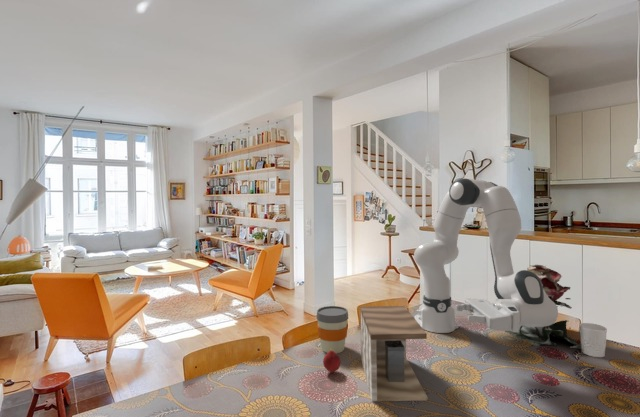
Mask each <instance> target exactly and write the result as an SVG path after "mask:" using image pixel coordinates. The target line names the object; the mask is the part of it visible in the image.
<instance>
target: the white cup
mask: <svg viewBox="0 0 640 417" xmlns="http://www.w3.org/2000/svg"><path fill="white" fill-rule="evenodd" d="M607 329H608V328H607V327H605V326H603V325H601V324H597V323H593V322H592V323H591V322H582V323H579V337H580V345H581V348H582V350H581V352H582V353H583V354H584V355H587V356H589V357H593V358H604V357H605V356H606V355H605V354H606V348H607V347H606V346H607V332H608V330H607Z"/></svg>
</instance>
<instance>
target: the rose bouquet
mask: <svg viewBox="0 0 640 417" xmlns="http://www.w3.org/2000/svg"><path fill="white" fill-rule="evenodd" d="M526 270H528V271H531V272H533V273H535V274H536V275H537V276H538V277H539V278H540V280H541V282H542V285H543V289H544V291H545V293H546V294H547V296H548V297H549V298H550V300H552V301H553V302H554V303H555V304H556V306H557V308H558V307H559V306H560V307H565V308H568V309H569V310H570V309H572V308H573V307H572V306H571V305H569V304H567V303H566V302H562V301H558V300H560V299H561V298H562V296H563V295H564V294H565V293H566V292H568V291H569V290H570V291H571V287H570V286H566V285H565V286H562V285H561V284H559V283H558V282H560V281H561V279H562V277H563V275H562V274H561V273H559V272H558V271H555V270H553V269H552V268H548V267H547V265H544V264H542V265H541V264H533V265H529V266H528V267H527V269H526ZM565 300H571V298H570V297H566V298H565ZM567 322H568V320H565V319H564V320H563V319H562V320H559V321H555V323H553V324H552V325H549V326H545V327H526V326H519V332H511V331H505V332H506V333H508V334H510V335H511V336H512V335H513V336H515V338H517V340H518V341H519V342H520V341H523V340H524V341H527V342H528V343H529V344H530V345H532V346H535V347H541V345H549V346H555V347H557V346H558V343H555V342H553V341H551V340H550V339H551V337H554V338H557V339H560V340H565V341H566V342H568V343H571V344H573V346H570V348H572V349H577V350H581V351H582V348H581V344H580V345H579V342H578V340H575V339H574V338H571V337H569V336H568V330H567ZM537 333H538V335H537ZM550 335H551V336H550ZM572 336H574V335H572Z"/></svg>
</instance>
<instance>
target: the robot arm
mask: <svg viewBox="0 0 640 417" xmlns="http://www.w3.org/2000/svg"><path fill="white" fill-rule="evenodd" d="M470 208H482V210H483V213H484V218H485V221H486V226H487V230H488V235H489V248H490V255H491V259H492V260H491V261H492V265H493V270H494V278H495V279H494V286H493V291H494V294H495V296H496V298H497V299H495V300H494V301H493V302H491V301H489V300H487V299H484V298H483V299H482V298H472V297H471V298H466V299H464V302H463V303H461V304H455V309H454V307H452V301H453V300H452V297H451V279H450V278H449V277H448V276H447V274H446V271H445V265H448V264H451V263H452V262H454V261H455V260H456V259H457V258H458V256H459V252H460V251H459V248H458V239H459V235H460V234H459V233H460V232H461V229H462V226H463V222H464V220H465V218H466V215H467V212H468V210H469V209H470ZM432 228H433V230H434V238H433V241H431V242H425V243H422V244H420V245H419V246H418V247H416V248H415V249H414V253H413V258H414V261H415V262H416V264H417V265H418V266H419V267H420V269H421V272H422V276H423V286H424V288H423V289H424V291H423V292H424V294H423V297H422V304H421V305H420V306H419V307H418V309H416V310H415V313H416V314H415V315H413V317H414V318H415V320H416V321H417V322H418V324H419V325H420V326H421V327H422V329H423V330H424V331H426V332H427V331H428V332H431V333H436V334H437V333H438V334H447V333H451V332H452V333H453V332H454V331H455V330H456V329H459V327H460V326H459V324H458V323H456V312H455V310H456V311H457V312H463V311H467V312H469V313H468V314H467V315H466V320H467V321H468V322H475V323H477V324H478V323H479V324H484V325H485V326H486V327H487V328H488V329H490V330H492V331H501V332H506V331H511V332H519V326H526V327H545V326H549V325H552V324H554V323H556V322H557V320H558V318H559V317H558V316H559V309H558V307H557V306H558V305H556V304H555V303H554V302H553V301H552V300H550V298H549V297H548V296H547V294H546V293H545V291H544V289H543V285H542V282H541V280H540V278H539V277H538V276H537V275H536V274H535V273H533V272H531V271H528V270H527V269H524V270H519V271H517V272H515V271H514V268H513V267H514V266H513V261H512V257H511V250H512V246H513V243H514V241H515V240H516V238H517V237H518V235H519V234H520V233H521V230H522V220H521V215H520V212H519V210H518V207H517V204H516V201H515V200H514V198H513V195H512V194H511V192H510V190H509V189H508V188H507V187H505V186H502V185H498V184H496V183H494V182H492V181H486V180H482V179H474V178H473V179H470V178H458V179H456V180H454V181H453V182H452V183H451V185H450V186H449V190H448V191H447V192H446V194H445V195H444V197H443V198H442V201H441V203H440V204H439V208H438V210H437V214H436V215H435V219H434V222H433V226H432Z"/></svg>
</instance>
